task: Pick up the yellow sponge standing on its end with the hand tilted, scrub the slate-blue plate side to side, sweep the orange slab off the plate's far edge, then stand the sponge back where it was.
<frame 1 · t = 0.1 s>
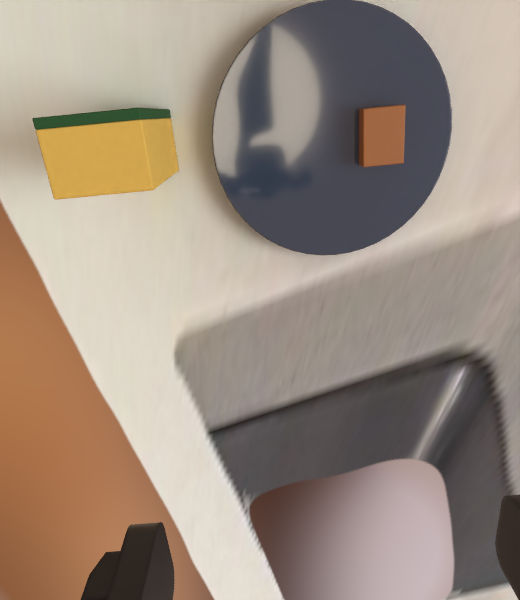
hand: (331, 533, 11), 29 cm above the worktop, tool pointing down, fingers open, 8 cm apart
sponge: (136, 144, 35), on the worktop
plate: (328, 139, 35), on the worktop
orange slab: (378, 135, 33), point 1 cm above the worktop, touching plate
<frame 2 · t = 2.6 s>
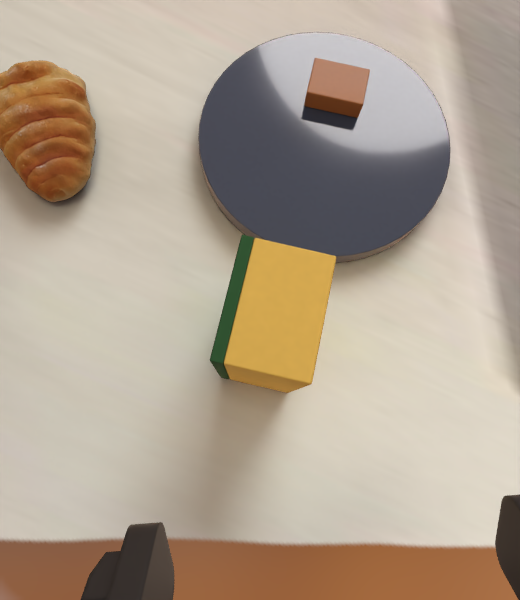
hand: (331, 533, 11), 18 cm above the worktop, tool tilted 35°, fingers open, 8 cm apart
sponge: (264, 340, 29), on the worktop
plate: (321, 148, 33), on the worktop
pastry: (58, 140, 33), on the worktop
orange slab: (334, 95, 32), point 1 cm above the worktop, touching plate
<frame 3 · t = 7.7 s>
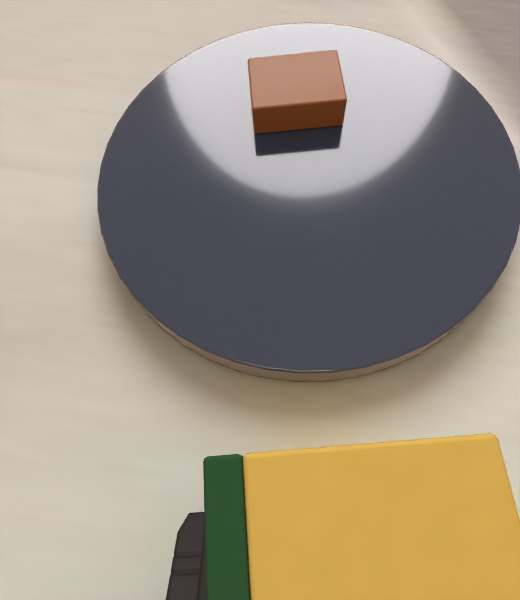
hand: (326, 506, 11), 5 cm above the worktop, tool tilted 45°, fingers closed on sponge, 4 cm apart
sponge: (322, 561, 15), on the worktop, touching gripper
plate: (302, 187, 21), on the worktop
orange slab: (295, 105, 20), point 1 cm above the worktop, touching plate
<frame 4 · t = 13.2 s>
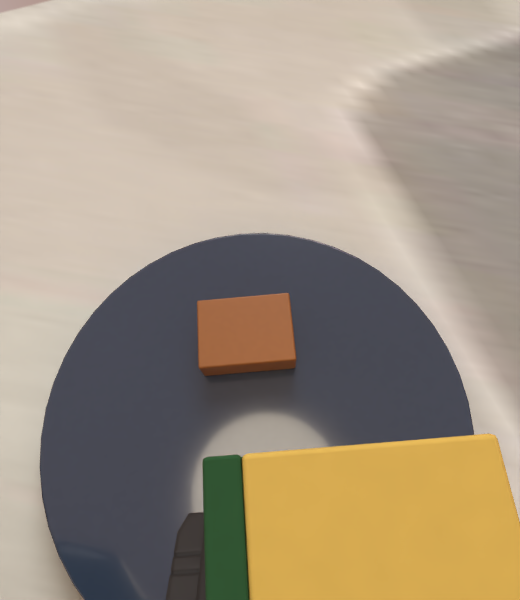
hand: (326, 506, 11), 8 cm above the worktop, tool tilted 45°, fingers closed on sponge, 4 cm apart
sponge: (322, 561, 15), point 3 cm above the worktop, touching gripper
plate: (255, 423, 20), on the worktop
orange slab: (247, 339, 20), point 1 cm above the worktop, touching plate
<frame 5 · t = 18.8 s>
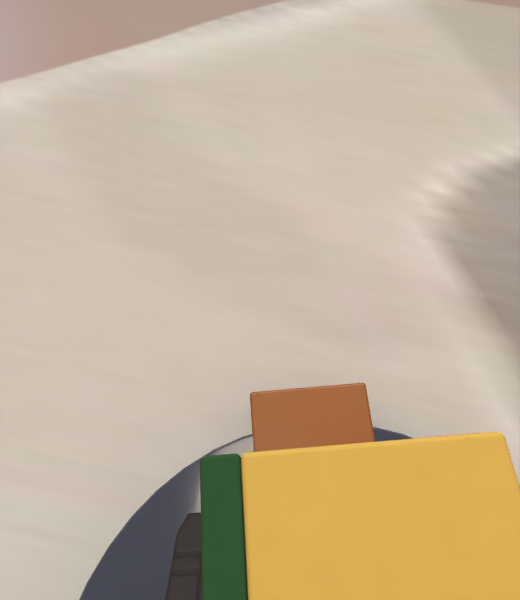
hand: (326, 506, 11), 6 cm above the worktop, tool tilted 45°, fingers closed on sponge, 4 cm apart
sponge: (325, 584, 14), point 2 cm above the worktop, touching orange slab, gripper
orange slab: (310, 436, 16), point 2 cm above the worktop, touching sponge
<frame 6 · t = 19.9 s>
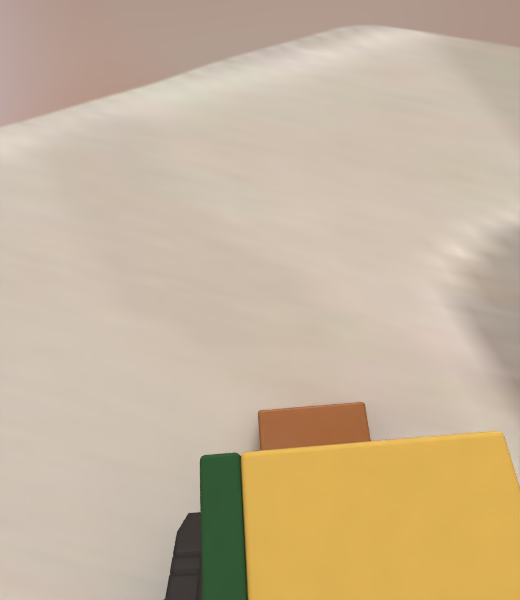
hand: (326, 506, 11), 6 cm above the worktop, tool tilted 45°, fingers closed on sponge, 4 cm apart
sponge: (325, 584, 14), point 2 cm above the worktop, touching gripper
orange slab: (313, 450, 17), on the worktop
when the fingers open (4 cm above the worktop, at t = 28.4 s): sponge stays where it is, on the worktop.
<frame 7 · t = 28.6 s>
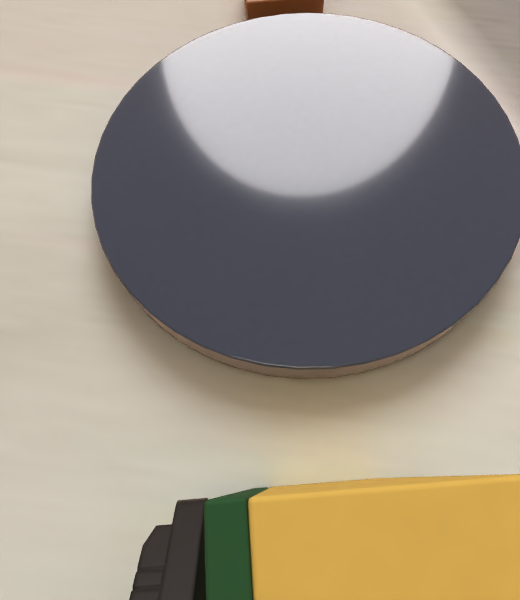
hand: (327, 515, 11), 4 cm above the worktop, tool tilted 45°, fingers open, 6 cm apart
sponge: (328, 584, 14), on the worktop
plate: (301, 180, 20), on the worktop
orange slab: (282, 8, 24), on the worktop
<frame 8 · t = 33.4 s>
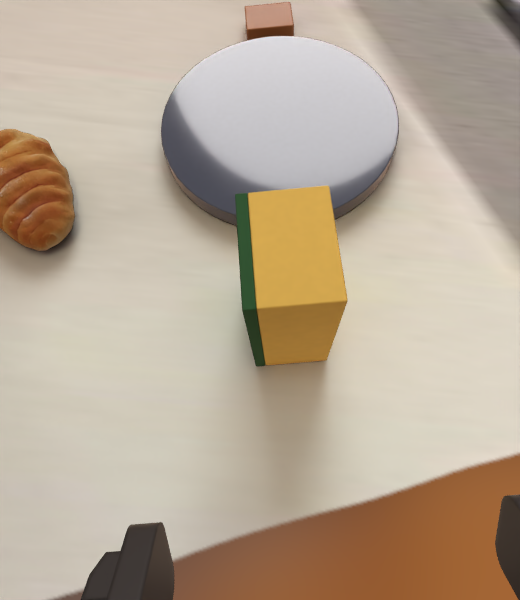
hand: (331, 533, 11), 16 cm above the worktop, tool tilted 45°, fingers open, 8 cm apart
sponge: (286, 319, 29), on the worktop
plate: (278, 133, 35), on the worktop
pastry: (36, 199, 34), on the worktop
orange slab: (269, 31, 40), on the worktop
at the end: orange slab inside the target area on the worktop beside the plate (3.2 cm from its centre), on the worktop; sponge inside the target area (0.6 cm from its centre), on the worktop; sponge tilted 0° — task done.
